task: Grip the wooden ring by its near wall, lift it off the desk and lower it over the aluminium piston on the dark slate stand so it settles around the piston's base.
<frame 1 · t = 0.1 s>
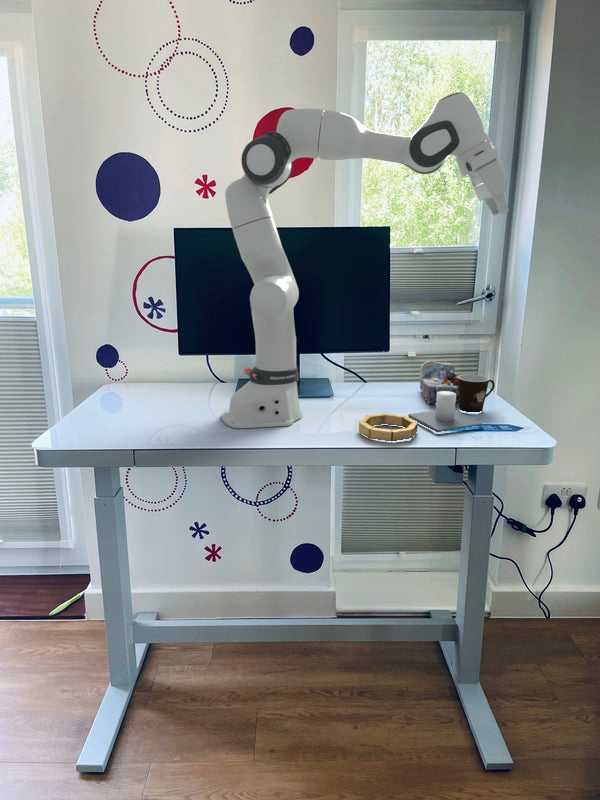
hand: (500, 213, 142), 54 cm above the table, tool tilted 30°, fingers open, 8 cm apart
wooden ring: (387, 433, 151), on the table
cell model: (439, 399, 181), on the table
piston stand: (444, 423, 158), on the table
coffee mug: (475, 412, 168), on the table
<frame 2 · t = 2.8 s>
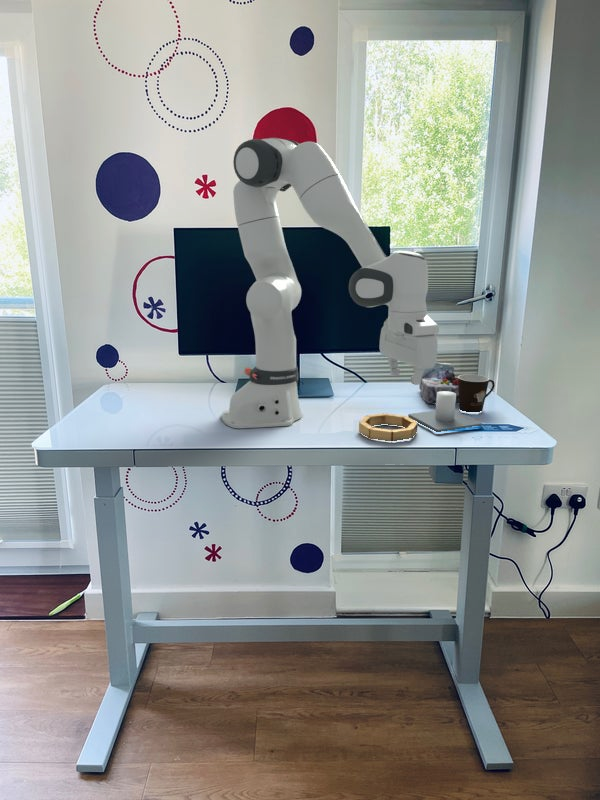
hand: (404, 379, 140), 16 cm above the table, tool pointing down, fingers open, 8 cm apart
nothing on the table moved.
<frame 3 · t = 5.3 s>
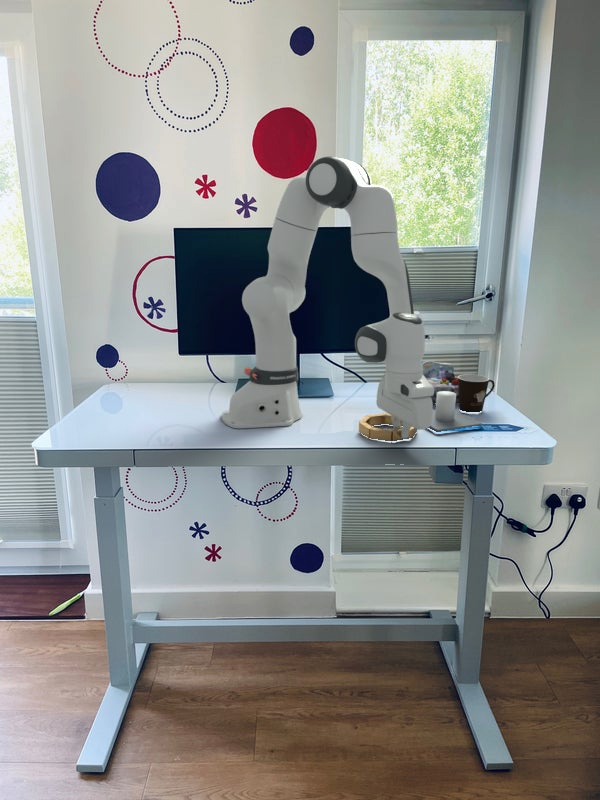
hand: (400, 435, 145), 2 cm above the table, tool pointing down, fingers closed on wooden ring
wooden ring: (387, 433, 151), on the table, touching gripper
everything else where it was.
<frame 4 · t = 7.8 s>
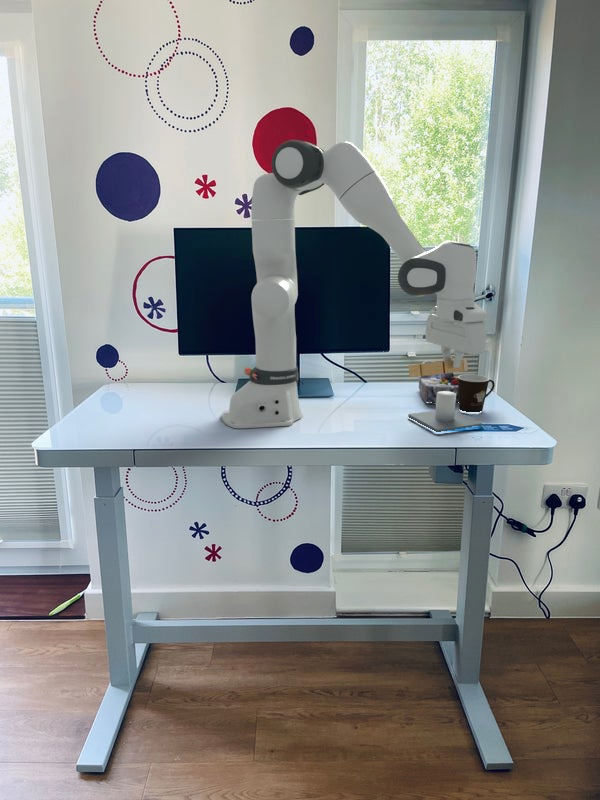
hand: (451, 365, 145), 18 cm above the table, tool pointing down, fingers closed on wooden ring
wooden ring: (438, 373, 151), point 15 cm above the table, tilted 15°, touching gripper
everything else where it was.
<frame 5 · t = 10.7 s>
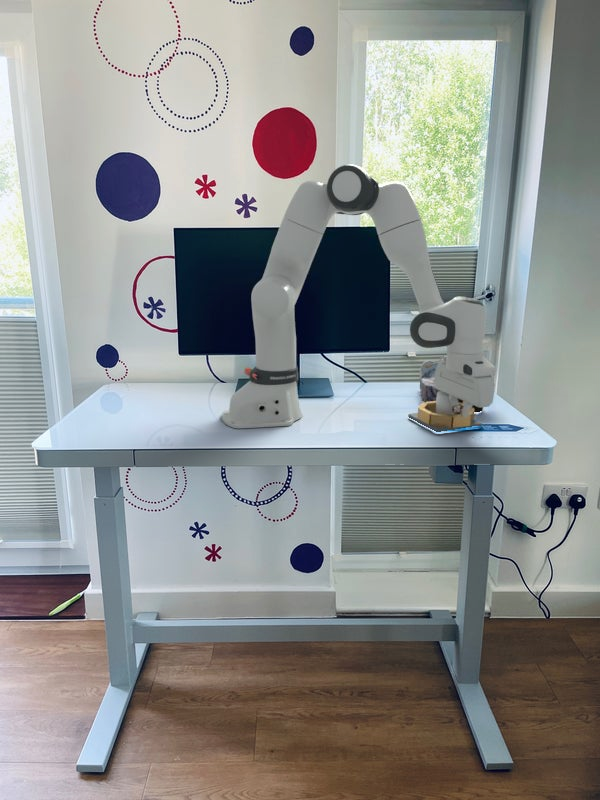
hand: (459, 414, 151), 5 cm above the table, tool pointing down, fingers closed
wooden ring: (445, 418, 157), point 1 cm above the table, touching piston stand
everything else where it was.
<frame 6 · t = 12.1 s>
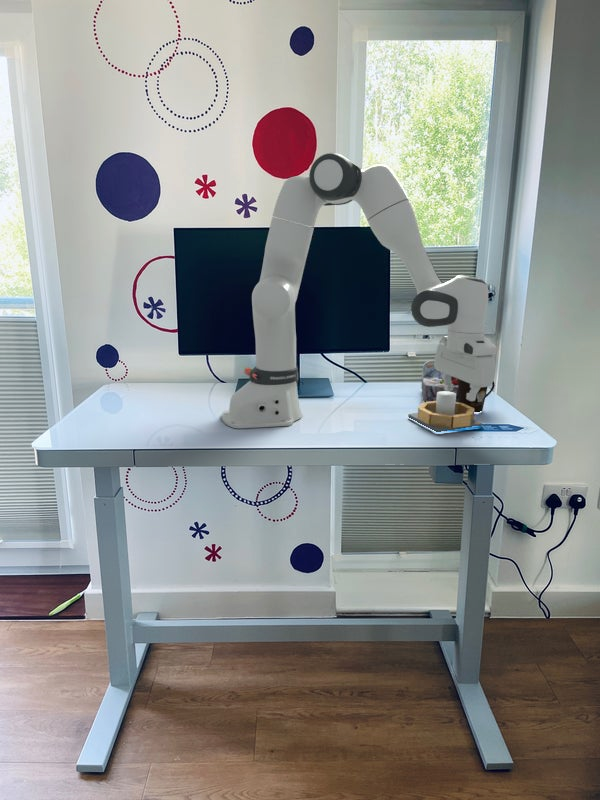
hand: (459, 395, 149), 10 cm above the table, tool pointing down, fingers open, 8 cm apart
nothing on the table moved.
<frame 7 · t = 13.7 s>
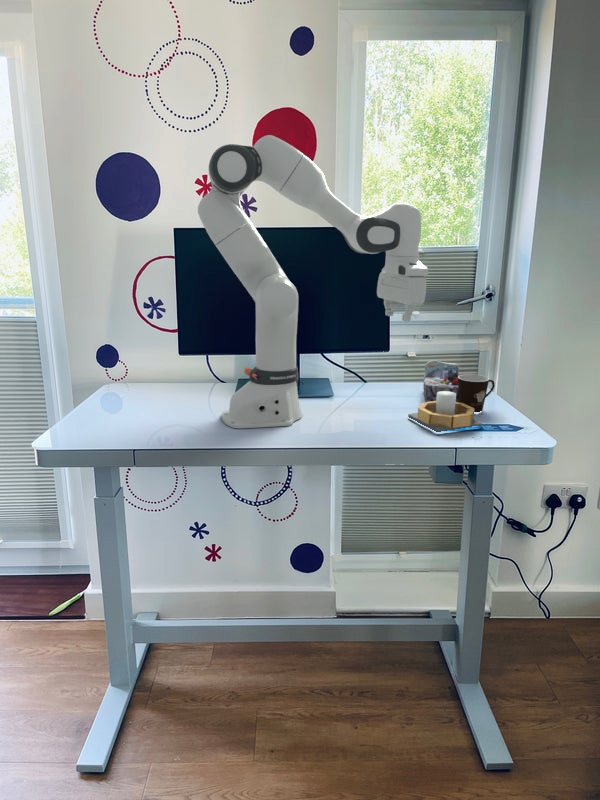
hand: (397, 318, 161), 27 cm above the table, tool pointing down, fingers open, 8 cm apart
nothing on the table moved.
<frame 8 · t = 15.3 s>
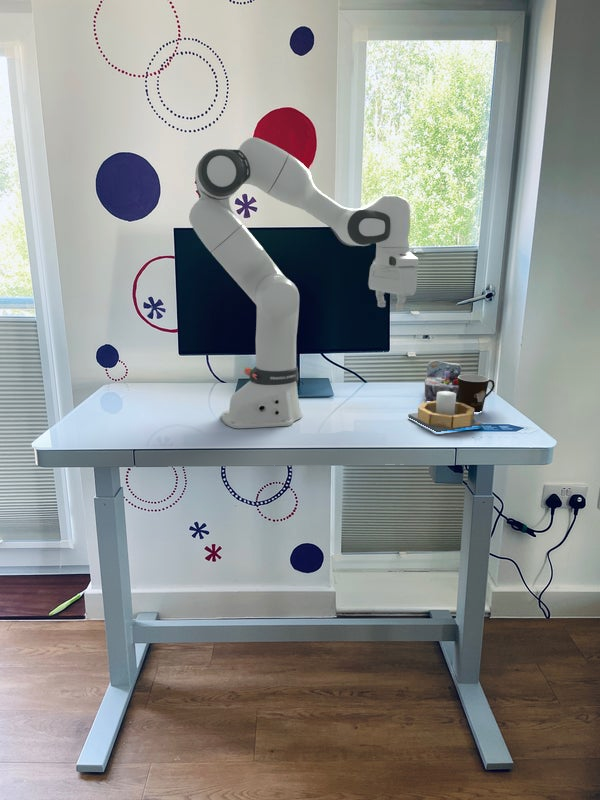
hand: (389, 309, 163), 29 cm above the table, tool pointing down, fingers open, 8 cm apart
at the end: wooden ring 0.3 cm from the piston stand (horizontally); wooden ring point 1.5 cm above the table; the gripper is holding nothing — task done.
